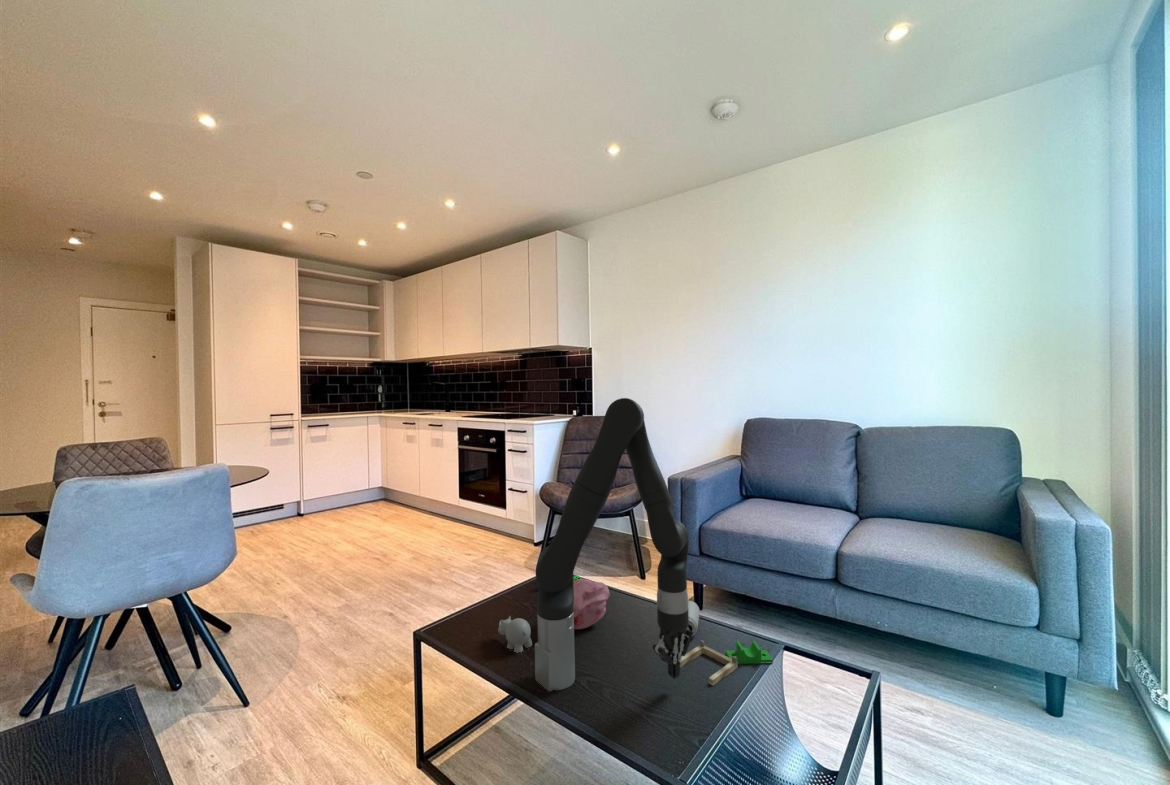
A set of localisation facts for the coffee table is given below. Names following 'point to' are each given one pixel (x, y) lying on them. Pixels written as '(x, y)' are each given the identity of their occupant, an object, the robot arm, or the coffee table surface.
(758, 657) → the pipe clamp
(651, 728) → the coffee table surface
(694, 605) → the beverage can
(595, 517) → the robot arm
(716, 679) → the frame
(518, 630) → the rhino figurine
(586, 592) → the decorative rock
